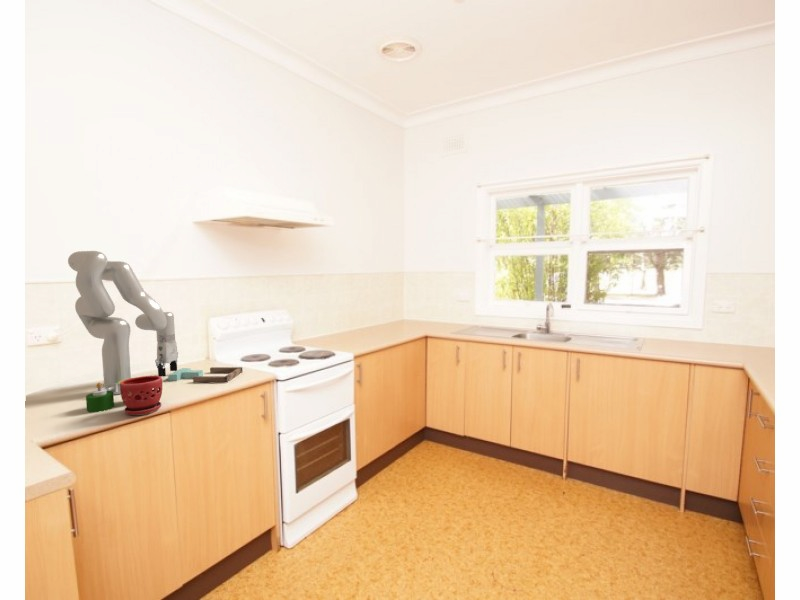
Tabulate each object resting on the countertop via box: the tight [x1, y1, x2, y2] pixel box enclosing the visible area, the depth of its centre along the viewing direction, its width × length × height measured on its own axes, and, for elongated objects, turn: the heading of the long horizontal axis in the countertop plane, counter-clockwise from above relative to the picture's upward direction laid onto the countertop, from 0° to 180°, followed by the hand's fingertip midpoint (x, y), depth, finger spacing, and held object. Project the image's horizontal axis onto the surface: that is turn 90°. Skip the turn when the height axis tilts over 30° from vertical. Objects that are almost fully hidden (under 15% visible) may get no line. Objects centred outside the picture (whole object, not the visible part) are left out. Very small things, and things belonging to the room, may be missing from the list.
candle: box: [85, 381, 115, 413], centre depth 153 cm, size 8×8×10 cm
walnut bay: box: [192, 366, 243, 383], centre depth 195 cm, size 18×16×2 cm
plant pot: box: [120, 375, 163, 416], centre depth 150 cm, size 13×13×12 cm
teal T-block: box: [167, 367, 204, 382], centre depth 195 cm, size 12×12×3 cm
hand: (168, 373), depth 195 cm, fingers open, 9 cm apart
